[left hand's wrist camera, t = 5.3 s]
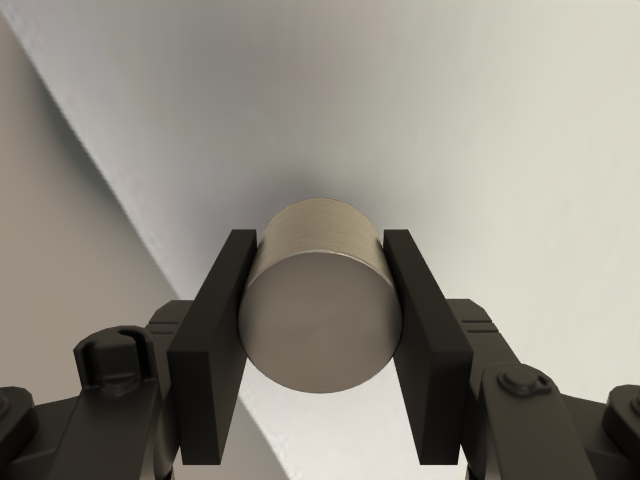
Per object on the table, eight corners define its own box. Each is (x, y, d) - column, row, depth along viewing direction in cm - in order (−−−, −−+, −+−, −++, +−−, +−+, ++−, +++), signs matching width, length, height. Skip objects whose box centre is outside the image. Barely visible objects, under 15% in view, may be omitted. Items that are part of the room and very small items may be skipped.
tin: (311, 331, 16) (308, 419, 12) (232, 248, 15) (200, 316, 11) (406, 265, 15) (436, 337, 11) (329, 171, 14) (333, 214, 10)
